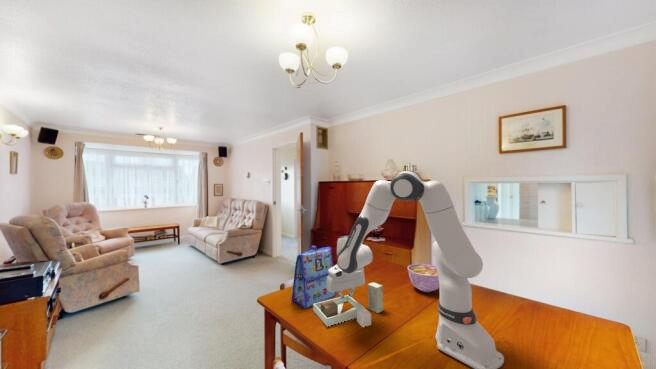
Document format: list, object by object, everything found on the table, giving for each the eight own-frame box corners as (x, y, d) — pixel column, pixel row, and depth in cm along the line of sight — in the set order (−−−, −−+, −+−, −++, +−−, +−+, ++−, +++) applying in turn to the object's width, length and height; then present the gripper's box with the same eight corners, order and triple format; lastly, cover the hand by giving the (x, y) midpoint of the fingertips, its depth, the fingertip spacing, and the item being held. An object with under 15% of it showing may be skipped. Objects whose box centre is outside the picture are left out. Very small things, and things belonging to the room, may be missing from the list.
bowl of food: (401, 288, 142) (400, 269, 142) (417, 279, 155) (417, 261, 155) (435, 300, 127) (434, 278, 127) (450, 289, 141) (450, 269, 141)
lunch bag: (305, 310, 119) (305, 251, 119) (290, 300, 129) (290, 246, 129) (337, 296, 133) (337, 244, 133) (322, 288, 144) (321, 240, 144)
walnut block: (337, 316, 112) (337, 305, 112) (326, 319, 109) (326, 308, 109) (331, 310, 117) (331, 299, 117) (320, 313, 115) (320, 302, 115)
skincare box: (383, 310, 118) (383, 285, 118) (377, 313, 115) (377, 288, 115) (373, 305, 123) (373, 281, 123) (367, 308, 120) (367, 283, 120)
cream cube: (371, 324, 106) (371, 313, 106) (362, 327, 104) (362, 316, 104) (365, 319, 110) (365, 308, 110) (356, 322, 108) (356, 311, 108)
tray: (364, 315, 114) (364, 307, 114) (326, 327, 105) (326, 318, 105) (348, 301, 127) (348, 294, 127) (313, 311, 118) (313, 303, 118)
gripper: (360, 263, 125) (360, 290, 125) (324, 270, 116) (325, 299, 116) (367, 267, 120) (367, 295, 120) (330, 274, 110) (331, 304, 110)
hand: (346, 297), depth 118 cm, fingers open, 3 cm apart
